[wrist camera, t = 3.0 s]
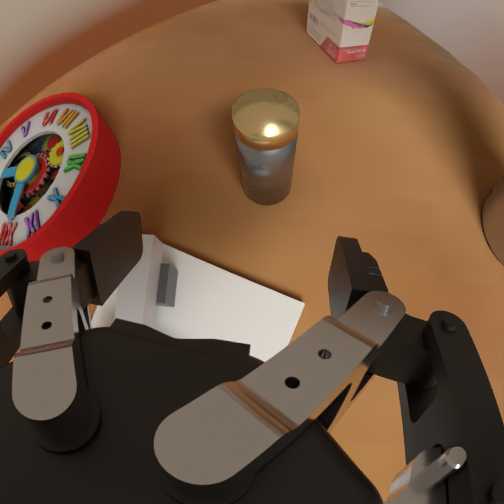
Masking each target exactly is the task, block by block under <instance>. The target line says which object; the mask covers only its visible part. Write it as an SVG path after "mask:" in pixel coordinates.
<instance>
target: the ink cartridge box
mask: <svg viewBox="0 0 504 504" xmlns="http://www.w3.org/2000/svg"><path fill="white" fill-rule="evenodd" d="M378 4H379V0H309V8H308V20H307V34H308V35H309V36H310V37H311V38H312V39H313V40H314V41H315V42H316V43H317V44H318V45H320V47H321V48H322V49H323V50H324V51H325V52H326V53H327V54H328V55H329V56H330V57H331V58H332V59H333V60H334V61H335V62H336V63H341V62H348V61H355V60H364V59H365V56H366V52H367V48H368V44H369V40H370V37H371V33H372V29H373V25H374V20H375V16H376V12H377V8H378Z"/></svg>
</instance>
